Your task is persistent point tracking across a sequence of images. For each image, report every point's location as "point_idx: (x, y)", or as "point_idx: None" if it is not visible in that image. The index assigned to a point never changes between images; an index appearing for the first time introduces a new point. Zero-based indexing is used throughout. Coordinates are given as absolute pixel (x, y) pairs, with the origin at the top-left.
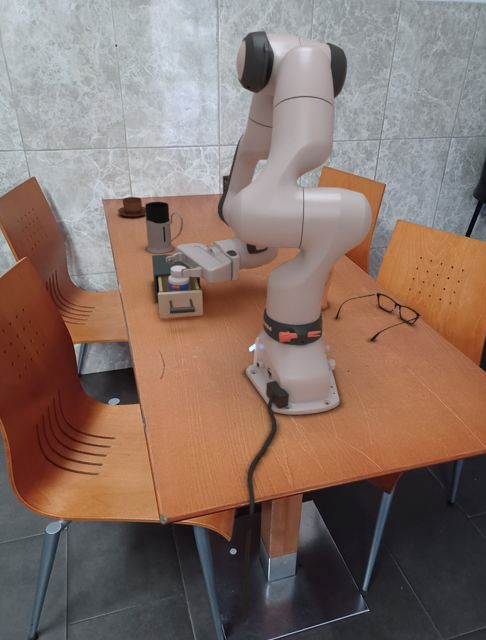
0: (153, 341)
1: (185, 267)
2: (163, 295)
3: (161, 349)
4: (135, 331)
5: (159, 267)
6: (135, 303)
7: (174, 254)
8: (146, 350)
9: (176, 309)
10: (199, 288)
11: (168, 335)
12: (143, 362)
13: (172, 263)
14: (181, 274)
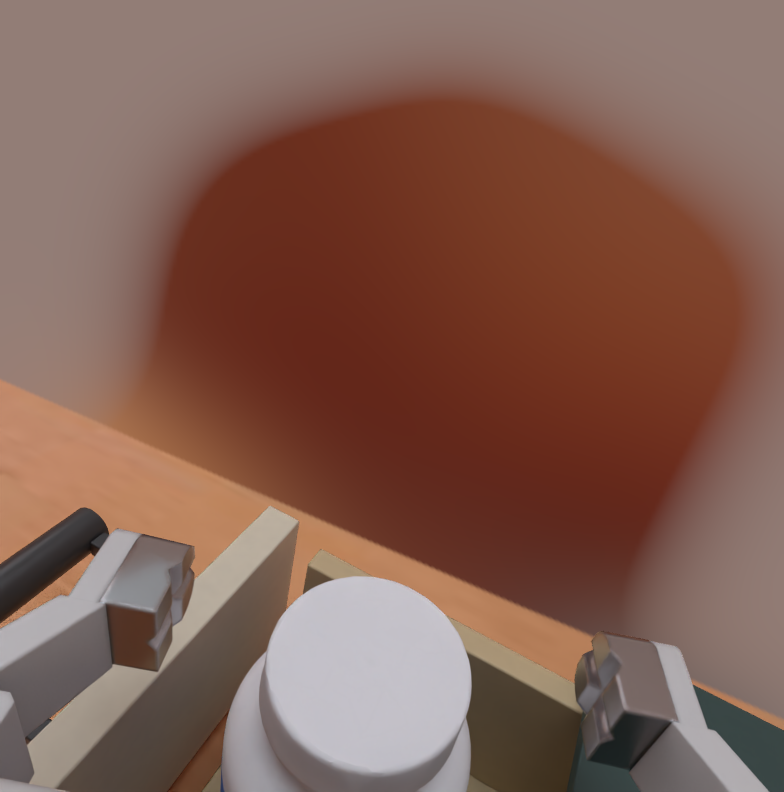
0: (105, 502)
1: (343, 761)
2: (243, 537)
3: (11, 486)
4: (256, 502)
5: (782, 789)
6: (556, 660)
7: (744, 779)
8: (75, 449)
9: (40, 537)
10: None
11: (76, 578)
12: (17, 404)
13: (585, 722)
14: (193, 583)
